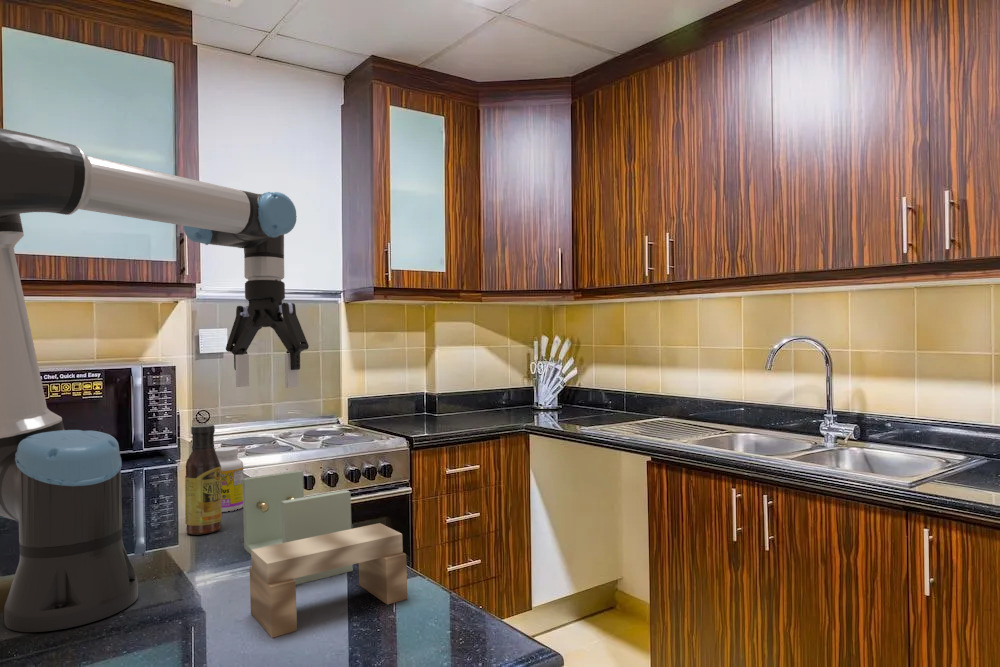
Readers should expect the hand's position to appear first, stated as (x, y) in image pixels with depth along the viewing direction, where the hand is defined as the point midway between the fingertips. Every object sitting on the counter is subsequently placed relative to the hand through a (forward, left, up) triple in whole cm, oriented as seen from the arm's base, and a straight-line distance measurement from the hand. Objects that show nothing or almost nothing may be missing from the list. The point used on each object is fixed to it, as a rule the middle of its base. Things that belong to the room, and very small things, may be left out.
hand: (266, 387), depth 132 cm
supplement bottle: (+3, +15, -27) cm, 31 cm away
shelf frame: (-18, -22, -26) cm, 38 cm away
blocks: (-31, -40, -26) cm, 57 cm away
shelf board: (-31, -40, -20) cm, 54 cm away
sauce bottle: (-11, +6, -27) cm, 29 cm away
